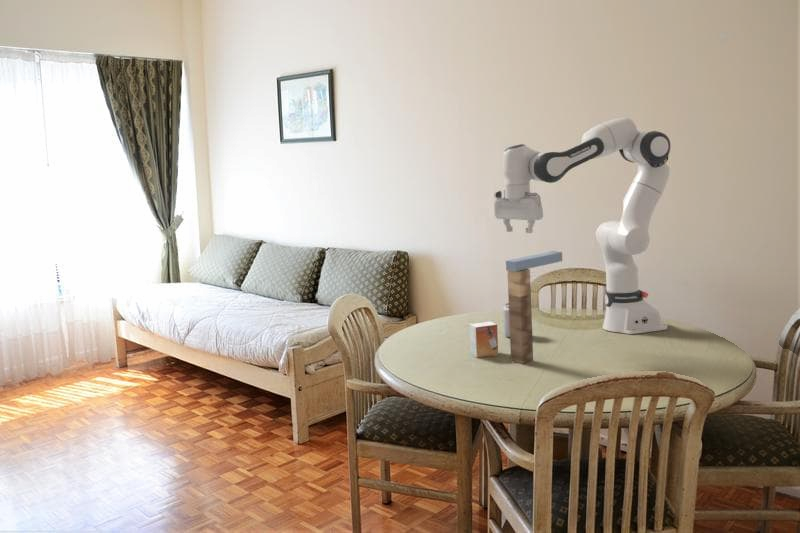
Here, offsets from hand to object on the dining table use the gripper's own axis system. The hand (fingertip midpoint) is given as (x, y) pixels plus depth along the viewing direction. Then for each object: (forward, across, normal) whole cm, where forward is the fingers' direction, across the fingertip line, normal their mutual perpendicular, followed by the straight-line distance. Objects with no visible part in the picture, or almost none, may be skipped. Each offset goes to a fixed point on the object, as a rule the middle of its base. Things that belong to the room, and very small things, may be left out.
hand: (519, 232), depth 252 cm
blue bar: (+9, -17, +11) cm, 22 cm away
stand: (+39, -17, +19) cm, 46 cm away
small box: (+39, -2, +22) cm, 44 cm away
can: (+39, +6, -1) cm, 39 cm away
